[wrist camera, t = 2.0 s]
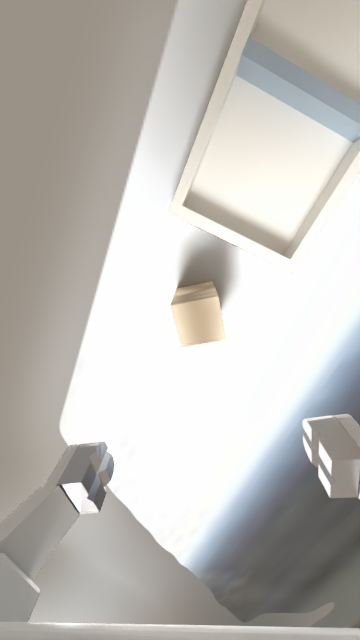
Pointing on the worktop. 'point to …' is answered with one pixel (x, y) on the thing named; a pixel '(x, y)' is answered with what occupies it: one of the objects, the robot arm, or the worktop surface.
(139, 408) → the worktop surface
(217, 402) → the worktop surface
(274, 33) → the divided tray
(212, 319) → the block
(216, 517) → the worktop surface
